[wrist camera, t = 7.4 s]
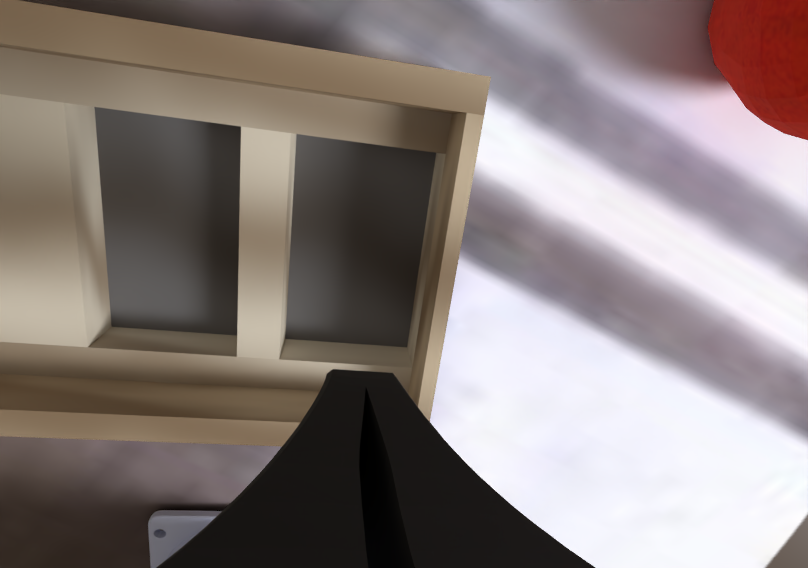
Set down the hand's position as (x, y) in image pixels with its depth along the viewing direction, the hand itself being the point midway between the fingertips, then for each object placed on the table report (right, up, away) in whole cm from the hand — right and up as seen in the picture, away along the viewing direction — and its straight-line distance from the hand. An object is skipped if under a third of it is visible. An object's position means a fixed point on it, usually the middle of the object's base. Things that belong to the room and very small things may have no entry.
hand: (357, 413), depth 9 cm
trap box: (-10, +5, +7) cm, 13 cm away
